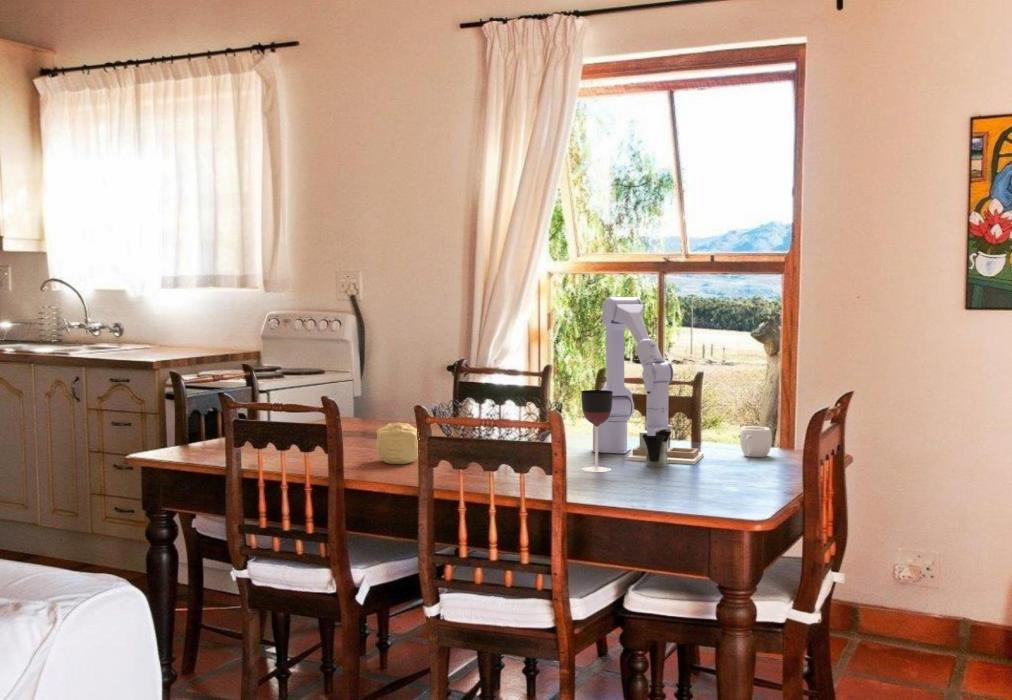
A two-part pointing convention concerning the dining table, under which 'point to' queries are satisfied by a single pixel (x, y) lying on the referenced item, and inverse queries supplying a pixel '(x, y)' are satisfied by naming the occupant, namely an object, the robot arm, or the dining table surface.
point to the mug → (755, 441)
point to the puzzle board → (672, 453)
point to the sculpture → (397, 443)
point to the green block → (662, 458)
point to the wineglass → (596, 416)
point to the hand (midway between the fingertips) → (656, 459)
